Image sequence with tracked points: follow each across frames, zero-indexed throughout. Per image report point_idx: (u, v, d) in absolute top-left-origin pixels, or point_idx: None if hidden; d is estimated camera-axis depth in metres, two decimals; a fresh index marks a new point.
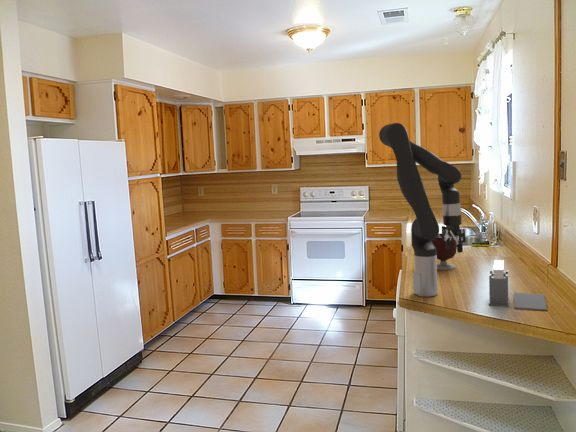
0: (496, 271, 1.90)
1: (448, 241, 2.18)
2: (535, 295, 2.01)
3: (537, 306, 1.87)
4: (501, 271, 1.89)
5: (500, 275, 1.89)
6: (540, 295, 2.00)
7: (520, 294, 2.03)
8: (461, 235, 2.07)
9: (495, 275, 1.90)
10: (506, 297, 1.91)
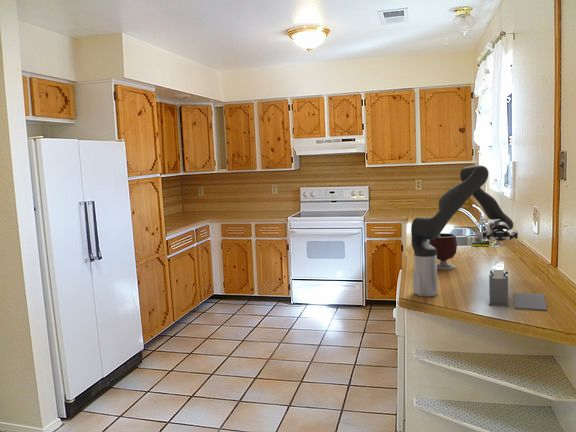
0: (496, 271, 1.90)
1: None
2: (535, 295, 2.01)
3: (537, 306, 1.87)
4: (501, 271, 1.89)
5: (500, 275, 1.89)
6: (540, 295, 2.00)
7: (520, 294, 2.03)
8: None
9: (495, 275, 1.90)
10: (506, 297, 1.91)
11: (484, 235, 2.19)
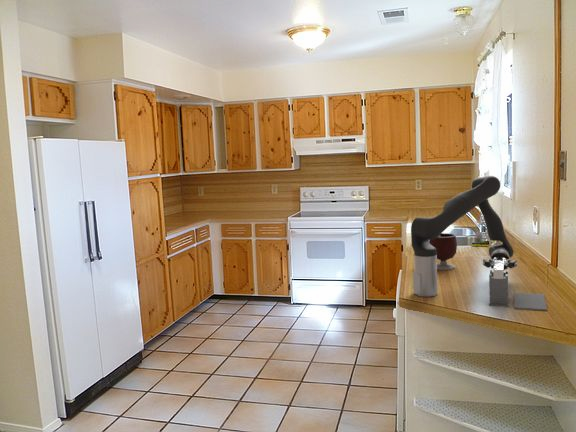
0: (496, 271, 1.90)
1: None
2: (535, 295, 2.01)
3: (537, 306, 1.87)
4: (501, 271, 1.89)
5: (500, 275, 1.89)
6: (540, 295, 2.00)
7: (520, 294, 2.03)
8: (514, 262, 2.05)
9: (495, 275, 1.90)
10: (506, 297, 1.91)
11: (488, 264, 2.06)
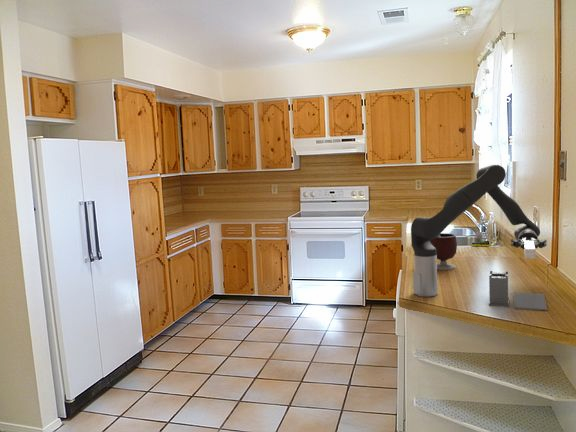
0: (528, 250, 1.85)
1: None
2: (535, 295, 2.01)
3: (537, 306, 1.87)
4: (533, 250, 1.84)
5: (532, 254, 1.84)
6: (540, 295, 2.00)
7: (520, 294, 2.03)
8: (544, 242, 1.99)
9: (527, 254, 1.85)
10: (506, 297, 1.91)
11: (517, 244, 2.01)
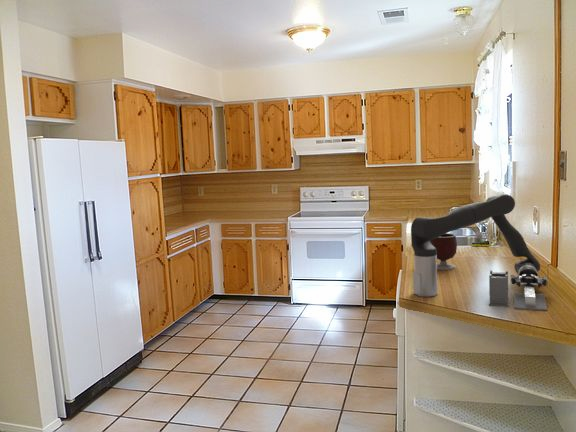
0: (528, 298, 1.88)
1: None
2: (535, 295, 2.01)
3: (537, 306, 1.87)
4: (533, 298, 1.87)
5: (532, 302, 1.87)
6: (540, 295, 2.00)
7: (520, 294, 2.03)
8: (546, 279, 2.01)
9: (527, 302, 1.88)
10: (506, 297, 1.91)
11: (513, 281, 2.04)
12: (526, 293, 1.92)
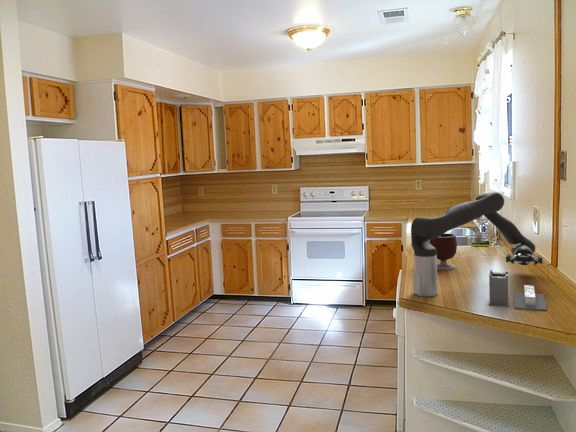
0: (528, 298, 1.88)
1: None
2: (535, 295, 2.01)
3: (537, 306, 1.87)
4: (533, 298, 1.87)
5: (532, 302, 1.87)
6: (540, 295, 2.00)
7: (520, 294, 2.03)
8: None
9: (527, 302, 1.88)
10: (506, 297, 1.91)
11: (508, 259, 2.16)
12: (526, 293, 1.92)
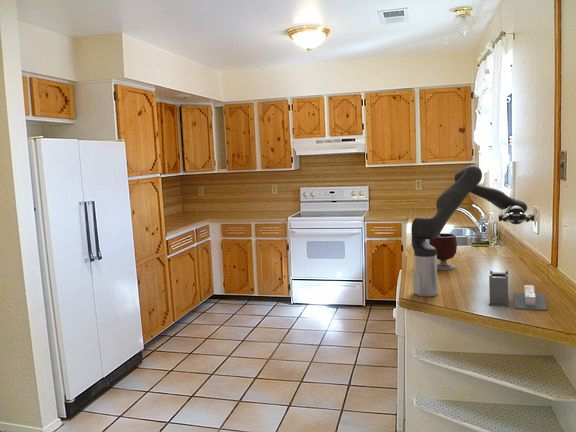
0: (528, 298, 1.88)
1: None
2: (535, 295, 2.01)
3: (537, 306, 1.87)
4: (533, 298, 1.87)
5: (532, 302, 1.87)
6: (540, 295, 2.00)
7: (520, 294, 2.03)
8: (533, 215, 2.16)
9: (527, 302, 1.88)
10: (506, 297, 1.91)
11: (500, 218, 2.18)
12: (526, 293, 1.92)
